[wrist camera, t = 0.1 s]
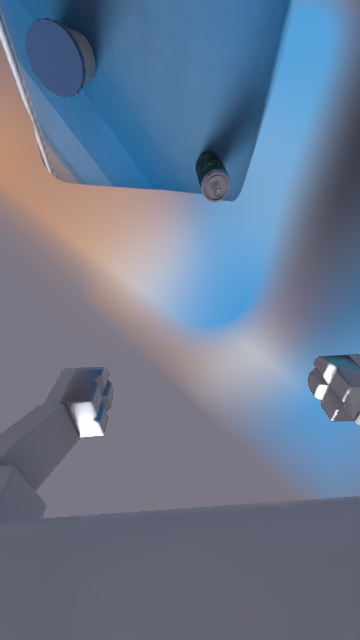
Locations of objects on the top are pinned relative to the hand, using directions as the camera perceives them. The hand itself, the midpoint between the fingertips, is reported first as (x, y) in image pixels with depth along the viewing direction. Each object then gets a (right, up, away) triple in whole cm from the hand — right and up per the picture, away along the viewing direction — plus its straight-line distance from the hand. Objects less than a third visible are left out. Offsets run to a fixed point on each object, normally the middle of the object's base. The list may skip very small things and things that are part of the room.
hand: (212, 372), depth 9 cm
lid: (-17, +36, +20) cm, 44 cm away
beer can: (+5, +36, +39) cm, 53 cm away
